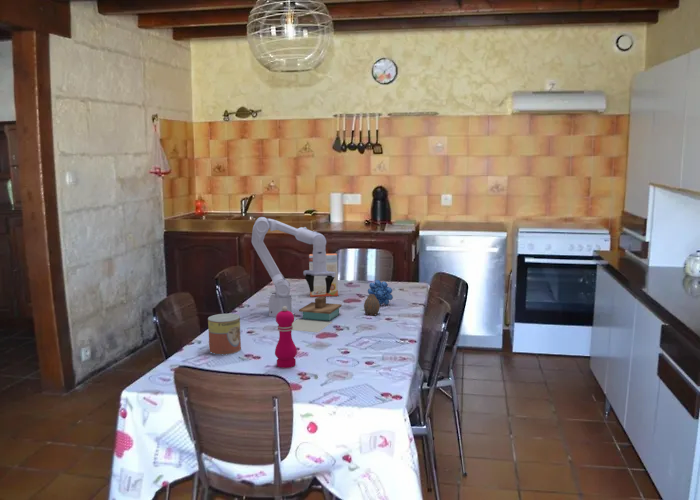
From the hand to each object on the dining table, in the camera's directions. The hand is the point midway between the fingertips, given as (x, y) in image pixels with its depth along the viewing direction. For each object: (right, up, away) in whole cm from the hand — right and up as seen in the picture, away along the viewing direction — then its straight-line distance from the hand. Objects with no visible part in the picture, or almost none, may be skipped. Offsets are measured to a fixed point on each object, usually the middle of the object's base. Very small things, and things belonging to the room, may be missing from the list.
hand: (319, 292), depth 267 cm
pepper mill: (-8, -20, -64) cm, 68 cm away
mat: (-4, -13, -18) cm, 23 cm away
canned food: (-32, -18, -47) cm, 60 cm away
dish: (+1, -11, -4) cm, 12 cm away
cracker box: (0, -5, +38) cm, 38 cm away
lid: (+1, -7, -5) cm, 9 cm away
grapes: (+27, -8, +16) cm, 32 cm away
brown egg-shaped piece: (+23, -10, +1) cm, 25 cm away
